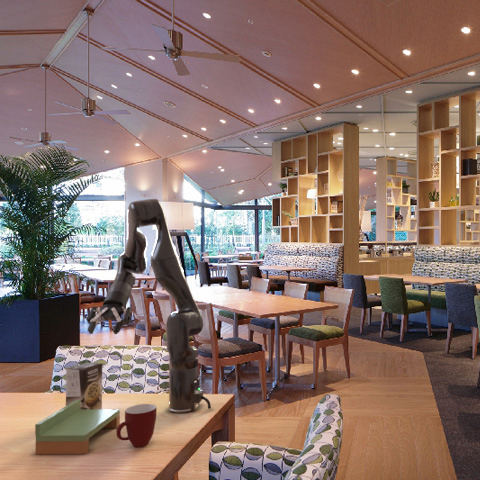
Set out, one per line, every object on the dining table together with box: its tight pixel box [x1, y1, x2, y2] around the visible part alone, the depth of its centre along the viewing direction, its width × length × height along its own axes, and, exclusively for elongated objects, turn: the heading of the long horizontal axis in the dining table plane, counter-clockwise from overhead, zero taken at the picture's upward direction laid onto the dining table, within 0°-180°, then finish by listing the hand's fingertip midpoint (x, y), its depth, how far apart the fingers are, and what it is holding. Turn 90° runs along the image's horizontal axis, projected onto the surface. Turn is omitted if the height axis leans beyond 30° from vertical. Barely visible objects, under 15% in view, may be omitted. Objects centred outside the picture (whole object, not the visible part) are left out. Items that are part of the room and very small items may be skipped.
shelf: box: [34, 400, 121, 455], centre depth 140 cm, size 13×20×8 cm, turn 2°
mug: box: [115, 403, 157, 448], centre depth 135 cm, size 10×8×10 cm
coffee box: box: [65, 362, 103, 410], centre depth 159 cm, size 9×6×16 cm
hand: (102, 332), depth 170 cm, fingers open, 8 cm apart
